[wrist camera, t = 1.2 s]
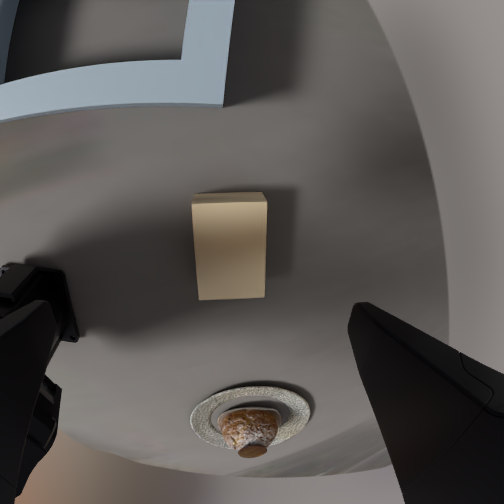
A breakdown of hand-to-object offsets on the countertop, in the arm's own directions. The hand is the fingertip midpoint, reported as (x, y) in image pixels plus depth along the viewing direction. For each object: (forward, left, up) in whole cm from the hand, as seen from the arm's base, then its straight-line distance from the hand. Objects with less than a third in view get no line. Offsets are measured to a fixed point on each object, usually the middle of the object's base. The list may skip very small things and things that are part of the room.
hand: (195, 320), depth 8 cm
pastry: (-21, -5, -12) cm, 25 cm away
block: (-2, -1, -12) cm, 12 cm away
